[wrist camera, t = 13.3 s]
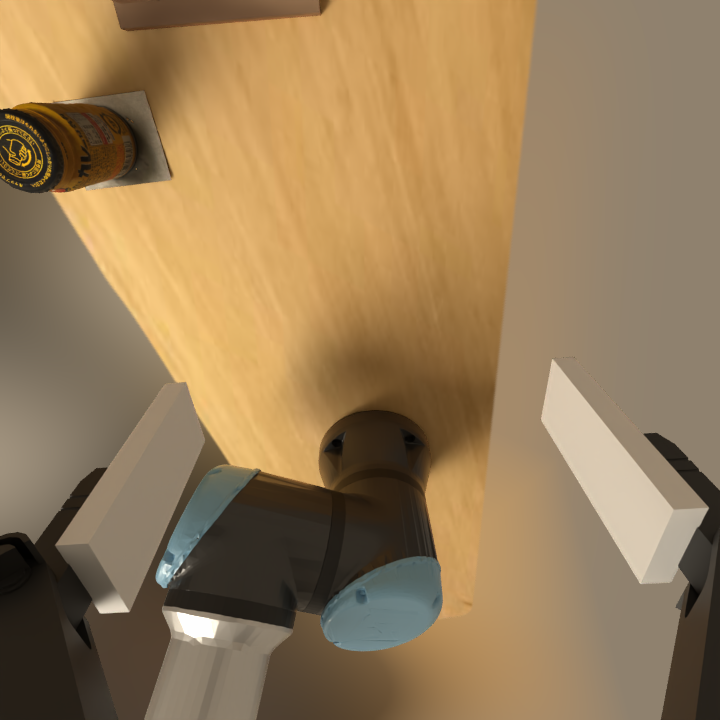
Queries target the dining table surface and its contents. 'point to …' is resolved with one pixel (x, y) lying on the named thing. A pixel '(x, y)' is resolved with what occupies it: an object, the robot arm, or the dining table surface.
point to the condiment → (81, 144)
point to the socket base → (206, 12)
